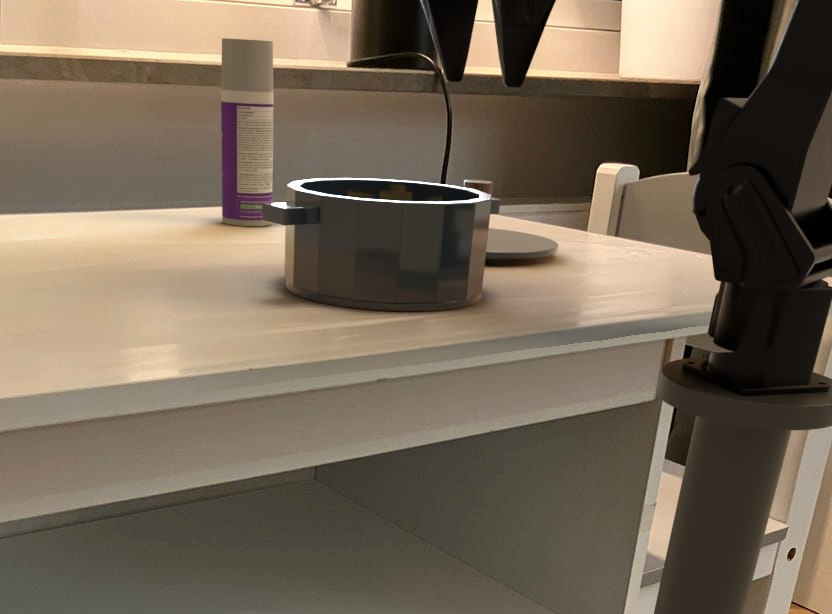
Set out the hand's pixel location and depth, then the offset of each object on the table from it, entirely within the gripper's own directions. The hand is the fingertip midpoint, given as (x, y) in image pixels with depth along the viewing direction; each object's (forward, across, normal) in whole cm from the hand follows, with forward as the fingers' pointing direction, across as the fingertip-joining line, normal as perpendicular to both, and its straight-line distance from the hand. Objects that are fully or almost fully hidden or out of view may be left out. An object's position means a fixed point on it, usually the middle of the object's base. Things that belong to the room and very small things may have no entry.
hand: (481, 84), depth 69 cm
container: (+13, +32, +8) cm, 36 cm away
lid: (+12, +16, -8) cm, 22 cm away
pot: (+13, 0, +6) cm, 14 cm away
